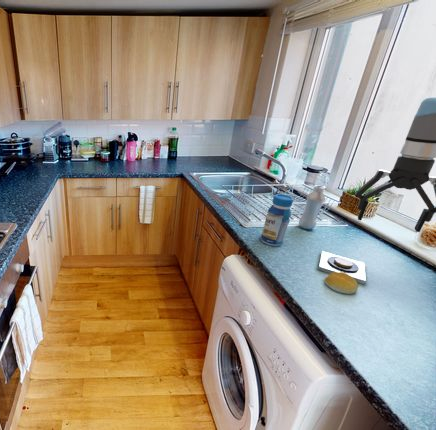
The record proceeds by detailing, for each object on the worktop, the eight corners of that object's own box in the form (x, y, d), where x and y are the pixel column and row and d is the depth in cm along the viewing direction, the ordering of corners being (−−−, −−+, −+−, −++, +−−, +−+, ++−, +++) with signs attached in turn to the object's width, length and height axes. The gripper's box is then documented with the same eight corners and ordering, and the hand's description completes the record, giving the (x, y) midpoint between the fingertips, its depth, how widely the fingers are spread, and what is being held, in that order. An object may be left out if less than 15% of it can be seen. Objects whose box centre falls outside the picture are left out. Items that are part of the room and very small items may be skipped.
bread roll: (320, 285, 94) (324, 275, 92) (330, 275, 99) (334, 265, 97) (351, 299, 88) (355, 288, 86) (359, 287, 93) (364, 277, 91)
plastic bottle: (300, 223, 136) (313, 183, 127) (316, 228, 131) (331, 187, 122) (294, 227, 132) (308, 186, 123) (311, 232, 127) (326, 190, 119)
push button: (363, 266, 104) (366, 260, 103) (364, 284, 94) (367, 277, 93) (320, 254, 111) (323, 247, 110) (317, 269, 101) (320, 263, 100)
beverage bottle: (285, 247, 115) (300, 201, 107) (263, 245, 116) (276, 199, 108) (278, 237, 123) (291, 193, 114) (257, 235, 124) (268, 192, 115)
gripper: (478, 160, 76) (440, 230, 85) (360, 149, 90) (338, 210, 99) (488, 166, 71) (447, 240, 80) (361, 153, 84) (337, 218, 93)
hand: (386, 224), depth 89 cm, fingers open, 13 cm apart
